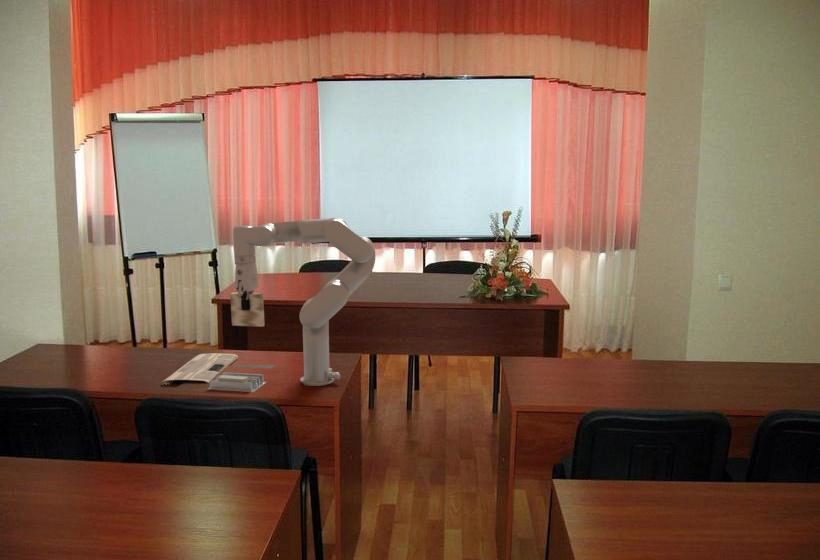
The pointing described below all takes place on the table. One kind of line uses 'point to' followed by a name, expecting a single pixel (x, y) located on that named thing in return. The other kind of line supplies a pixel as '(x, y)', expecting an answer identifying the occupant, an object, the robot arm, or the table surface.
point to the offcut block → (233, 378)
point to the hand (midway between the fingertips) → (247, 309)
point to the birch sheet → (247, 316)
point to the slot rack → (238, 383)
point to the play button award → (254, 366)
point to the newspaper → (202, 367)
